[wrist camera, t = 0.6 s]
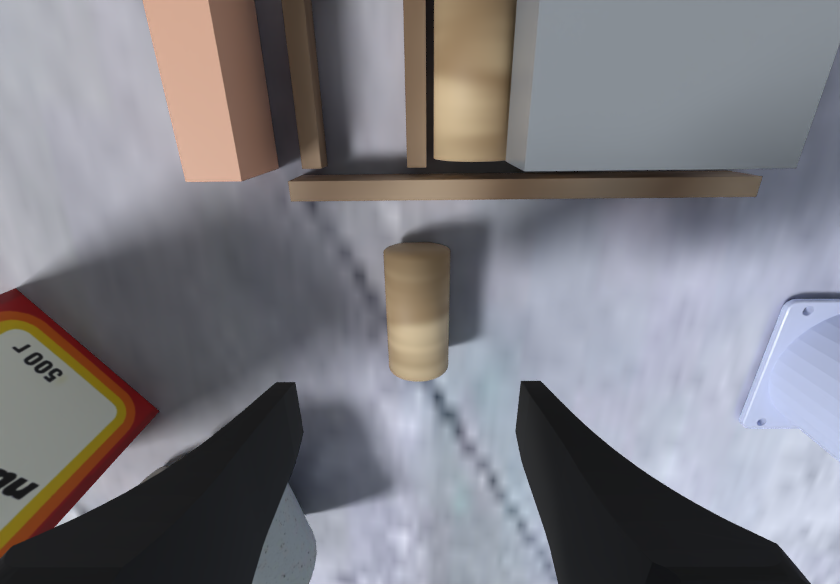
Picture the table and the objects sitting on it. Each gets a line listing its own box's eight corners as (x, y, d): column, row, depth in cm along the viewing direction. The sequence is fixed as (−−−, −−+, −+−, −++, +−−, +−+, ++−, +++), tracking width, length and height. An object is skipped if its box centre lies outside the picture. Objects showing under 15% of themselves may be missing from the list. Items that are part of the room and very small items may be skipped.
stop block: (250, -25, 15) (195, -70, 11) (278, 168, 18) (241, 181, 14) (198, -24, 15) (126, -69, 11) (234, 168, 18) (185, 181, 14)
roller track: (796, -72, 14) (891, -120, 11) (722, 188, 18) (780, 202, 15) (272, -62, 15) (234, -107, 12) (304, 193, 18) (281, 207, 15)
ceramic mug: (287, 417, 24) (225, 544, 17) (331, 511, 27) (295, 652, 20) (127, 445, 25) (7, 575, 18) (188, 532, 28) (106, 672, 21)
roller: (383, 242, 19) (384, 263, 17) (444, 240, 20) (455, 260, 17) (388, 350, 22) (390, 383, 19) (443, 346, 22) (452, 379, 19)
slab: (783, -49, 12) (889, -97, 9) (725, 158, 15) (796, 168, 12) (519, -43, 12) (547, -90, 10) (505, 161, 15) (524, 171, 12)
